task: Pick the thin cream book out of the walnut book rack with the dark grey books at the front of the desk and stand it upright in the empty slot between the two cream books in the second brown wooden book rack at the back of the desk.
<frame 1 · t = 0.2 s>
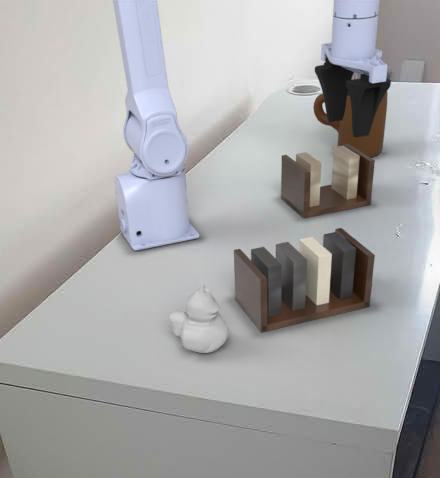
hand: (347, 128, 100), 10 cm above the table, tool pointing down, fingers open, 7 cm apart
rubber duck: (200, 348, 78), on the table
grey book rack: (301, 303, 84), on the table
brown wooden book rack: (325, 202, 106), on the table
white book: (313, 294, 84), point 1 cm above the table, touching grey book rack
mug: (346, 152, 122), on the table
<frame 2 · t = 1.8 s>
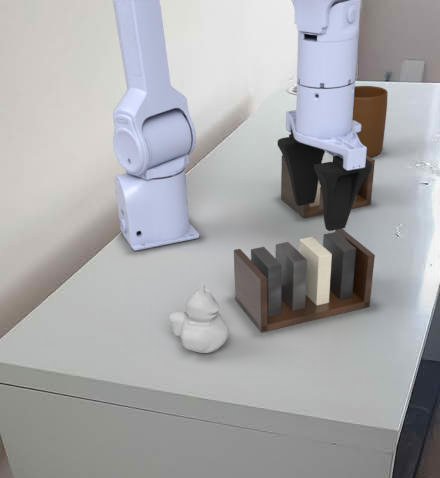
hand: (319, 215, 80), 9 cm above the table, tool pointing down, fingers open, 7 cm apart
nothing on the table moved.
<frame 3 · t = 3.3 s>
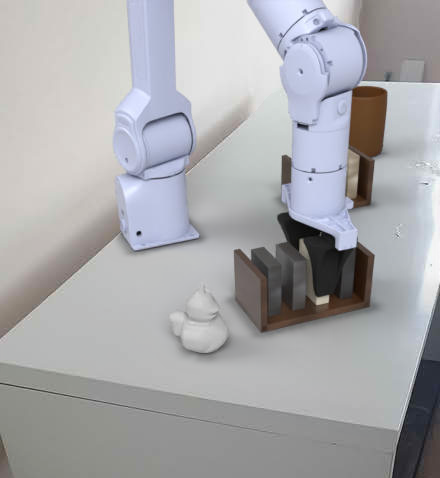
hand: (313, 283, 83), 2 cm above the table, tool pointing down, fingers closed on white book, 5 cm apart
white book: (313, 294, 84), point 1 cm above the table, touching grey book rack, gripper
everything else where it was.
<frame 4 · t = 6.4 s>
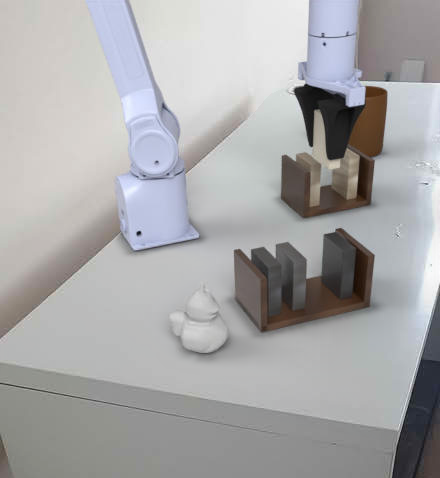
hand: (326, 151, 94), 10 cm above the table, tool pointing down, fingers closed on white book, 5 cm apart
white book: (325, 162, 95), point 9 cm above the table, touching gripper
everything else where it was.
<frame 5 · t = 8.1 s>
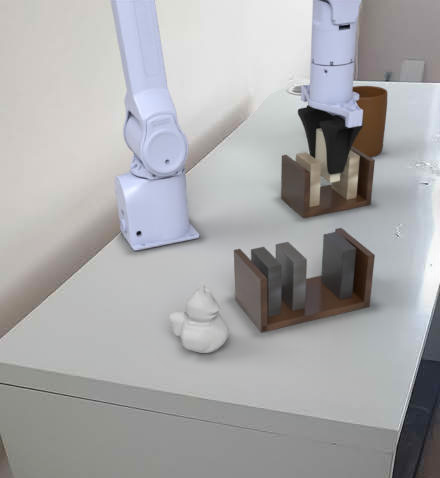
hand: (327, 166, 103), 5 cm above the table, tool pointing down, fingers closed on white book, 5 cm apart
white book: (327, 176, 104), point 4 cm above the table, touching gripper
everything else where it was.
when the fingers open (2 cm above the table, at t = 9.4 s): white book stays where it is, resting on brown wooden book rack.
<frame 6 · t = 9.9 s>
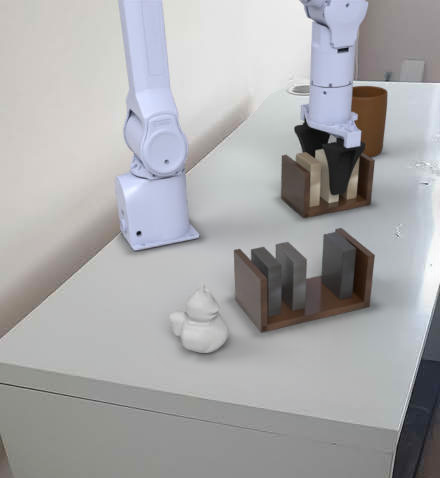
hand: (326, 184, 105), 3 cm above the table, tool pointing down, fingers open, 7 cm apart
white book: (325, 196, 106), point 1 cm above the table, touching brown wooden book rack
everything else where it was.
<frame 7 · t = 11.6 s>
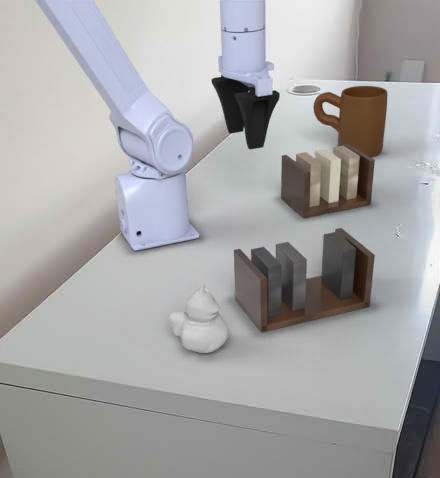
hand: (245, 139, 100), 9 cm above the table, tool pointing down, fingers open, 7 cm apart
nothing on the table moved.
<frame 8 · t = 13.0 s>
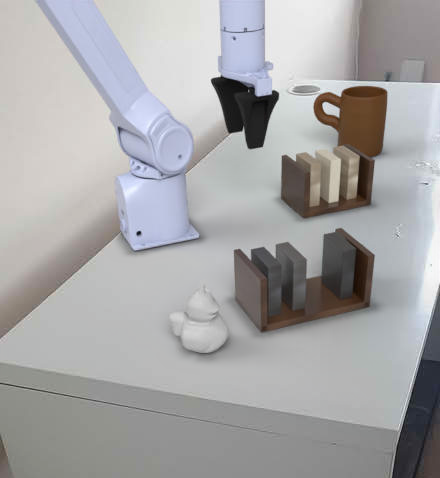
hand: (245, 139, 100), 9 cm above the table, tool pointing down, fingers open, 7 cm apart
nothing on the table moved.
at the end: white book 0.1 cm off-centre on the brown wooden book rack, point 0.8 cm above the brown wooden book rack's base; white book tilted 0°; the gripper is holding nothing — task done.
